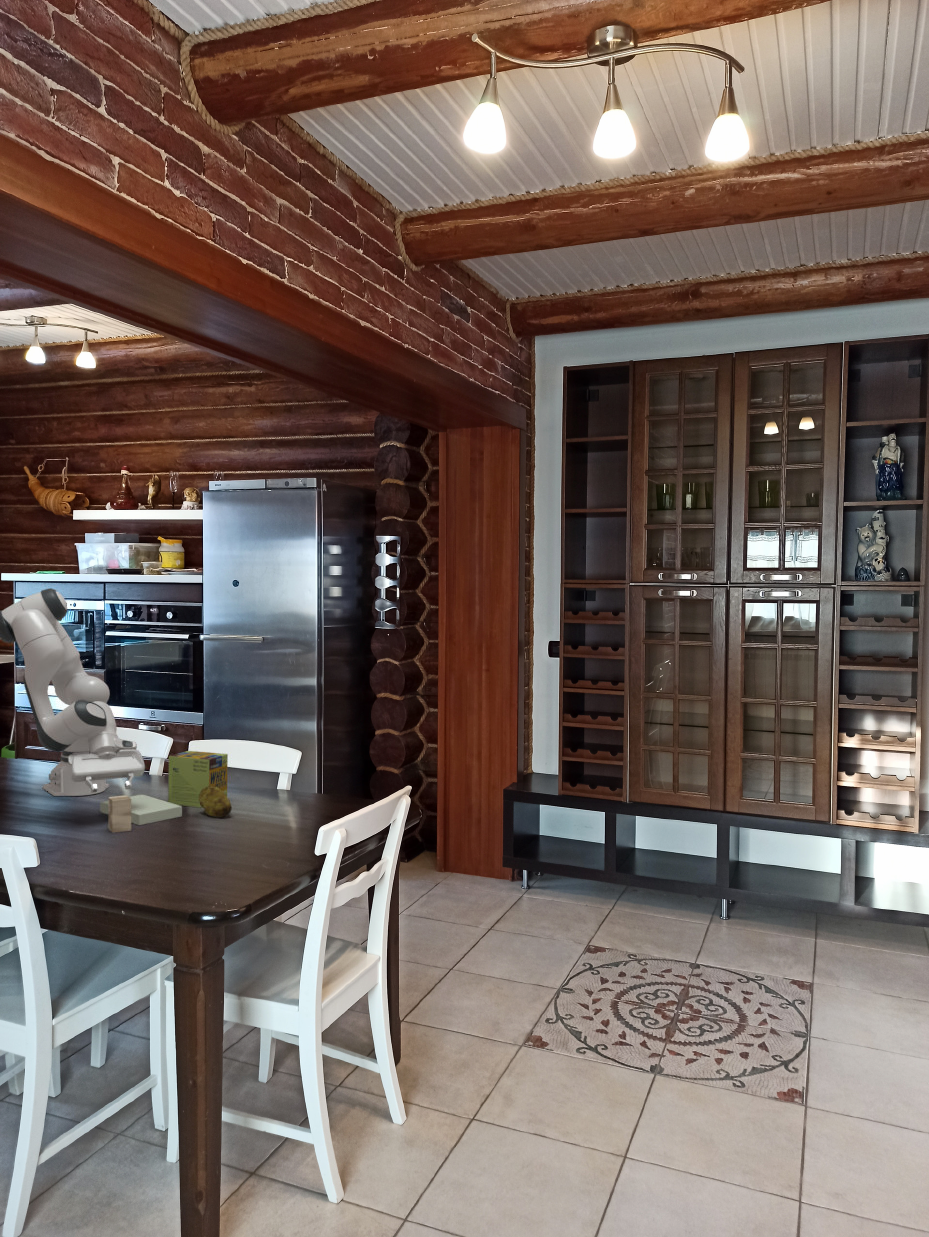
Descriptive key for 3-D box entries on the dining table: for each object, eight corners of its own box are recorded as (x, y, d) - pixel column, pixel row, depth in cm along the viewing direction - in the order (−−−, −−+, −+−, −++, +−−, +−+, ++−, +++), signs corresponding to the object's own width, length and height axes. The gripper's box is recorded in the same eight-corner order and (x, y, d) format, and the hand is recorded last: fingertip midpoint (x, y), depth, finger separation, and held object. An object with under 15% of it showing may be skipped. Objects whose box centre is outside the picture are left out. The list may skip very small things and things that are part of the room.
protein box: (209, 808, 282) (209, 759, 282) (167, 804, 287) (167, 755, 287) (228, 801, 292) (228, 753, 292) (187, 797, 297) (188, 749, 297)
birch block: (108, 828, 258) (108, 797, 258) (126, 826, 261) (126, 795, 261) (112, 832, 254) (112, 800, 254) (131, 830, 257) (131, 798, 256)
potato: (204, 820, 268) (205, 794, 268) (196, 810, 280) (196, 785, 279) (233, 818, 272) (233, 791, 272) (224, 808, 283) (224, 782, 283)
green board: (100, 811, 276) (100, 802, 276) (142, 803, 287) (142, 794, 287) (139, 825, 262) (139, 814, 262) (181, 816, 273) (181, 806, 273)
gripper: (68, 746, 262) (74, 787, 254) (141, 741, 273) (149, 780, 265) (65, 759, 266) (71, 799, 258) (137, 754, 277) (145, 792, 269)
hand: (111, 789), depth 262 cm, fingers open, 8 cm apart
